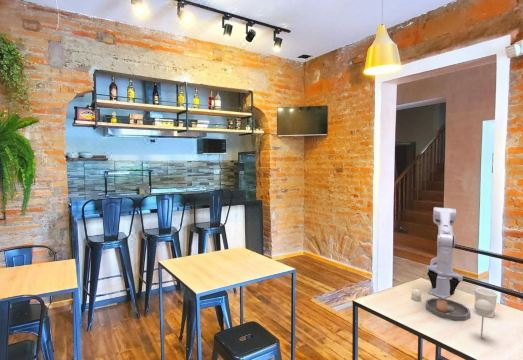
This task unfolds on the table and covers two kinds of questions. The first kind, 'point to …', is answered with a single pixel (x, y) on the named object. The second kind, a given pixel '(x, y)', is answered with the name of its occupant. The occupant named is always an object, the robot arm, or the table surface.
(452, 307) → the groove tray
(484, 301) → the lollipop
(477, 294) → the white cup
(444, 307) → the bead terracotta
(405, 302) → the table surface
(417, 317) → the table surface
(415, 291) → the bead cream
